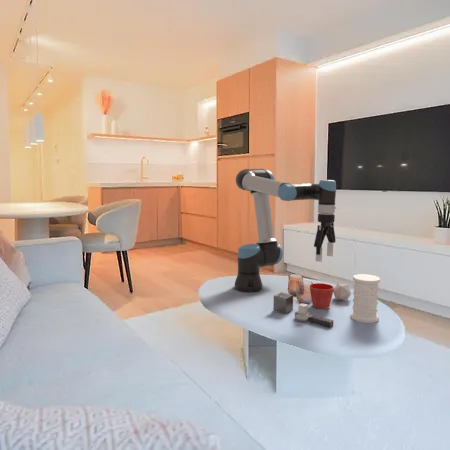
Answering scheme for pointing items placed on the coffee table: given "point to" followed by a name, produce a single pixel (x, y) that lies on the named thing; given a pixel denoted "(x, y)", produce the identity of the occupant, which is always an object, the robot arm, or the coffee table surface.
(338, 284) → the die
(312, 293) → the flower pot
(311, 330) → the coffee table surface
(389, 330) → the coffee table surface
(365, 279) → the decorative container
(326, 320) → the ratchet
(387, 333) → the coffee table surface
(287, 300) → the grey wood-grain cube
